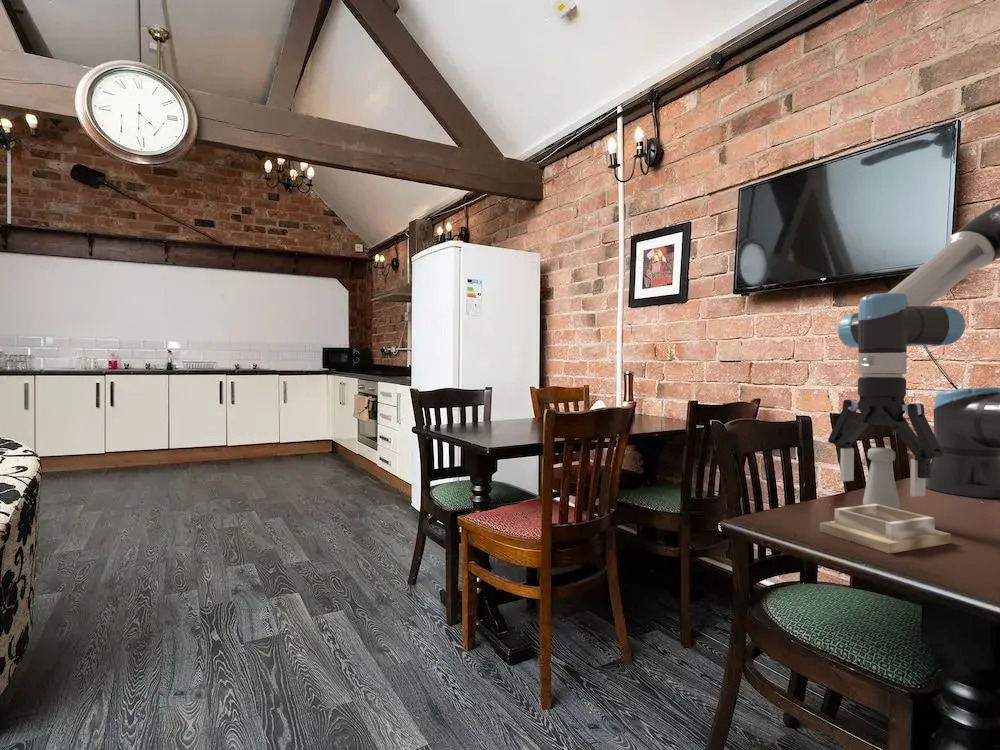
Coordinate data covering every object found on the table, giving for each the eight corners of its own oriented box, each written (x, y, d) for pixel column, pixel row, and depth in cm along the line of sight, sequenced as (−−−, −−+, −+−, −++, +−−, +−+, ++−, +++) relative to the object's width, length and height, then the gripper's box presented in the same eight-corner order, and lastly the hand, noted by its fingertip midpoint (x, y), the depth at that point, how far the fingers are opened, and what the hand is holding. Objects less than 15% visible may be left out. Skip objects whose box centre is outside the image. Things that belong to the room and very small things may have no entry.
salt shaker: (908, 520, 101) (908, 450, 101) (878, 520, 100) (878, 450, 100) (883, 511, 107) (883, 445, 106) (855, 512, 106) (855, 446, 106)
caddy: (877, 523, 99) (877, 501, 99) (950, 543, 88) (951, 518, 88) (819, 531, 94) (819, 508, 94) (888, 553, 83) (888, 527, 83)
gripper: (809, 375, 114) (808, 476, 114) (939, 377, 90) (937, 505, 90) (836, 375, 116) (835, 474, 116) (969, 377, 92) (968, 501, 93)
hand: (880, 487), depth 103 cm, fingers open, 13 cm apart
